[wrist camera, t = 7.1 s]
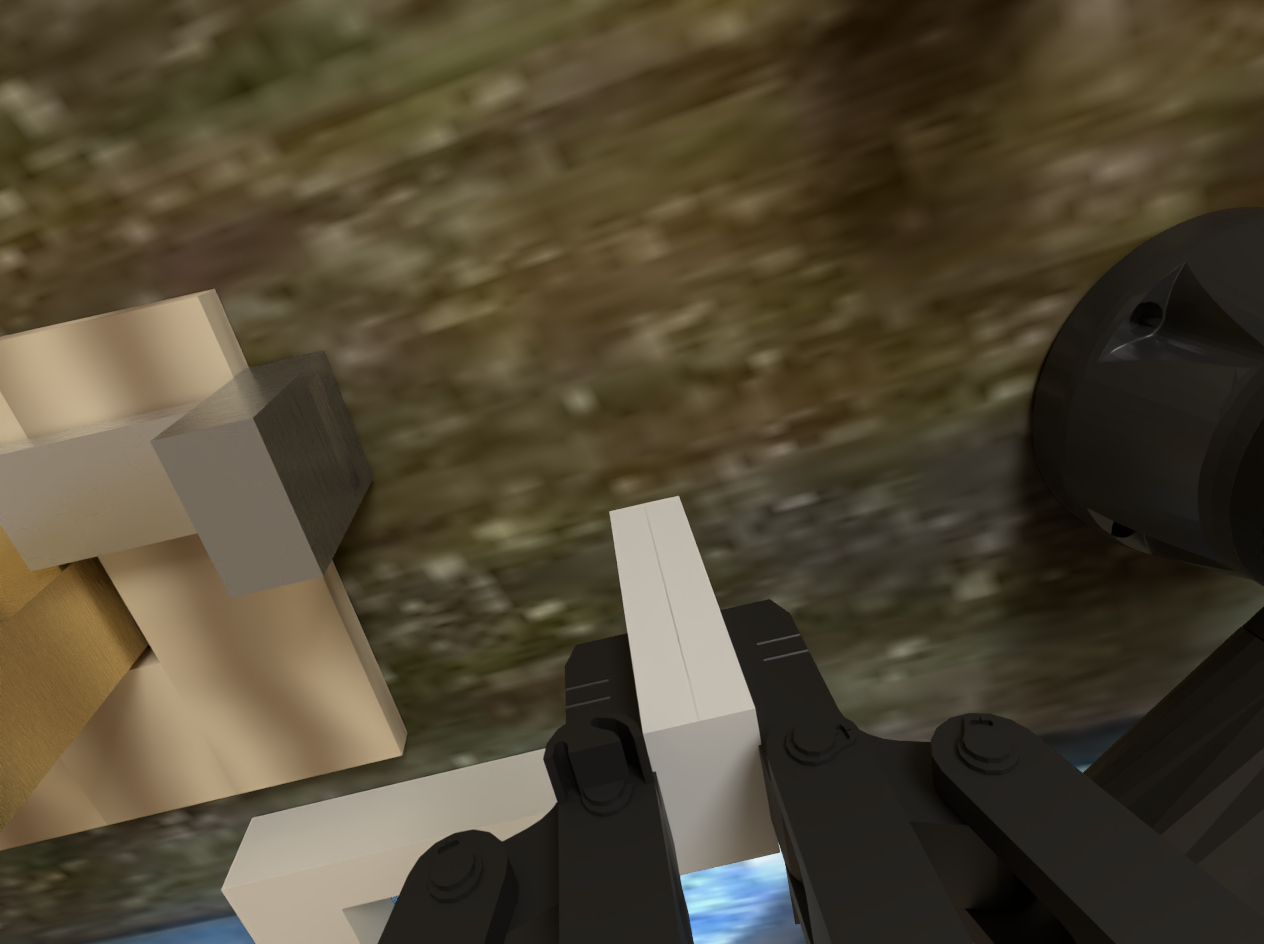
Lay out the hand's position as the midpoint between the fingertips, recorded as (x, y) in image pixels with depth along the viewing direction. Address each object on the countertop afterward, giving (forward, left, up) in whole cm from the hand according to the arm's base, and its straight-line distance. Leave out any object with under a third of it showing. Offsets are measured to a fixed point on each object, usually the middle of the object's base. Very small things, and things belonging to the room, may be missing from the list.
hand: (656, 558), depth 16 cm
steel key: (+21, 0, -15) cm, 26 cm away
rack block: (+14, +27, -16) cm, 34 cm away
